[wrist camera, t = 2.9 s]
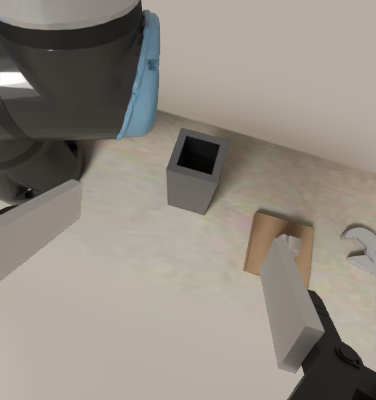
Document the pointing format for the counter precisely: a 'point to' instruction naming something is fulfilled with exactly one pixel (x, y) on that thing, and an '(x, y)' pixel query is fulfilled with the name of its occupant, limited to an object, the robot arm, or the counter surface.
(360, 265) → the adjustable wrench
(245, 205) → the counter surface
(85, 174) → the counter surface
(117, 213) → the counter surface
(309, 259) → the drive block
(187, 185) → the grey square tube
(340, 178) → the counter surface
